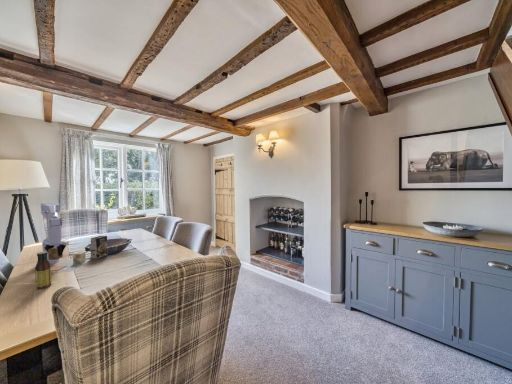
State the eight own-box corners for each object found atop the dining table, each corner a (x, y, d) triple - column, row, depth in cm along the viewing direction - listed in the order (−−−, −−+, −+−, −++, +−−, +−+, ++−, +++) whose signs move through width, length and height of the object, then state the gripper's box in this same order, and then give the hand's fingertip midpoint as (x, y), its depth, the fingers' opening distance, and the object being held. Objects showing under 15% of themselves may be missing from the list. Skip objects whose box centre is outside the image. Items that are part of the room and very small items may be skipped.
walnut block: (48, 259, 141) (48, 249, 141) (54, 257, 146) (54, 247, 146) (56, 259, 142) (56, 249, 142) (62, 257, 147) (62, 246, 147)
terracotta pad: (44, 271, 140) (44, 270, 140) (54, 266, 148) (54, 265, 148) (57, 270, 141) (57, 270, 141) (66, 266, 149) (66, 265, 149)
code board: (41, 273, 139) (41, 272, 138) (66, 260, 160) (66, 260, 160) (70, 272, 141) (70, 271, 141) (91, 260, 162) (91, 259, 162)
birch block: (73, 263, 154) (73, 254, 153) (78, 261, 159) (77, 251, 158) (80, 263, 154) (80, 253, 154) (85, 261, 159) (85, 251, 159)
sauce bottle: (42, 284, 124) (42, 250, 123) (54, 284, 124) (53, 250, 124) (32, 290, 117) (31, 254, 116) (44, 289, 118) (43, 254, 117)
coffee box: (97, 259, 164) (97, 238, 164) (90, 258, 166) (90, 238, 165) (107, 255, 173) (107, 235, 173) (101, 254, 175) (100, 235, 174)
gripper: (37, 237, 139) (38, 258, 139) (62, 237, 141) (63, 257, 141) (47, 234, 146) (47, 254, 146) (70, 234, 148) (70, 254, 148)
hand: (55, 255), depth 144 cm, fingers closed on walnut block, 5 cm apart
